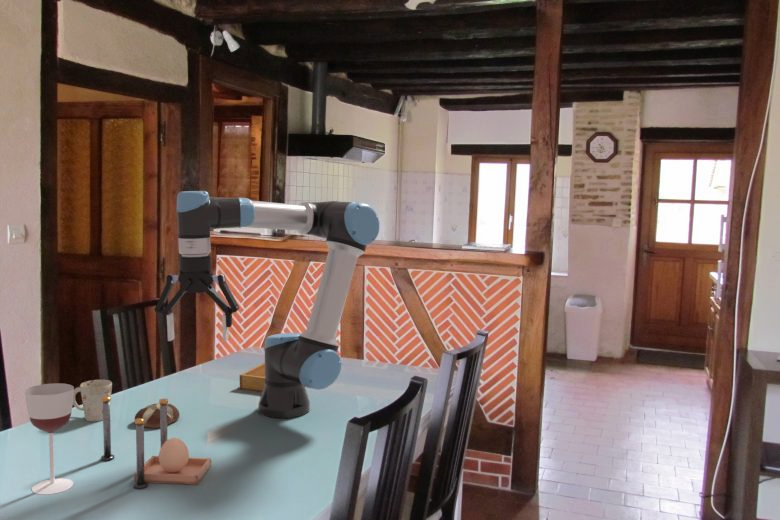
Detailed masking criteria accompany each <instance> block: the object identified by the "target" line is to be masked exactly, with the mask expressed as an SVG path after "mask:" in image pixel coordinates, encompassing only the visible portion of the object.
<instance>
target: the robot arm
mask: <svg viewBox="0 0 780 520" xmlns="http://www.w3.org/2000/svg"><path fill="white" fill-rule="evenodd" d="M175 210H176V217H177V218H176V219H177V233H178V238H177V239H178V241H177V242H178V253H179V254H180V256H179V258H178V264H179V265H178V267H179V275H178V274H175V273H170V274H168V275H167V276H166V281H165V286H164V288H163V290H162V292H161V294H160V296H159V299H158V301H157V303H156V305H155V308H154V312H156V313H160V314H161V315H162V322H163V327H164V328H167V329H166V330H167V342H172V341H173V340H175V321H174V319H175V317H174V312H171V311H172V309H174V307H175V306H176V305H177V304H178V303H179V301H180V300H181V299H182V298H183V297H184V295H185V294H186V293H189V294H194V293H196V294H197V293H198V294H202V293H205V294H206V295H207V296H209V297H210V298H211V300H212V301H213V302H214V303H215V304H216V305H217V306H218V307H219V308H220V310H221V311H222V312H223V314H222V315H221V320H222V321H221V323H222V324H221V325H222V342H227V341H228V339H230V337H229V328H231V327H232V325H233V314H234V313H236V312H238V311H239V310H240V306H239V304H238V302H237V300H236V298H235V297H234V295H233V293H232V291H231V289H230V287H229V285H228V284H227V281H226V274H224V273H221V274H215V275H213V273H212V256H211V255H210V253H212V249H211V248H212V246H211V230H216V229H217V230H218V229H235V228H236V229H237V228H239V229H241V228H252V229H265V230H266V229H268V230H270V229H271V230H281V231H283V230H284V231H297V233H298V234H300V235H307V236H314V237H318V238H322V239H325V244H326V246H327V248H328V252H327V257H326V259H325V263H324V267H323V270H322V274H321V276H320V280H319V284H318V288H317V291H316V295H315V299H314V301H313V305H312V309H311V312H310V316H309V318H308V319H309V320H308V322H307V326H306V330H305V331H303V332H284V333H277V334H276V333H275V334H271V335H268V336H267V337H266V338H265V341H264V348H263V350H264V362H265V386H264V389H263V392H261V395H260V398H259V401H258V413H259V414H260V415H262V416H265V417H269V418H277V419H280V418H281V419H285V418H286V419H288V418H296V417H301V416H303V415H305V414H308V412H309V411H310V410H311V404H310V403H311V401H310V399H309V395H308V393H307V390H306V388H309V389H311V390H312V389H313V390H317V391H318V390H319V391H320V390H324V389H326V388H328V387H330V386H331V385H333V384H334V383H335V382H336V380H337V379H338V377H339V376H340V374H341V371H342V360H341V357H340V355H339V354H338V350H339V348H340V347H339V346H340V344H339V343H338V340H337V339H336V338H337V334H338V330H339V326H340V323H341V319H342V317H343V314H344V313H343V312H344V309H345V305H346V301H347V297H348V295H349V291H350V287H351V283H352V280H353V276H354V272H355V269H356V265H357V263H358V262H357V261H358V259H359V257H360V256H362V255H364V254H365V252H366V248H367V245H370V244H372V243H373V242H374V241H376V239H377V237H378V235H379V232H380V220H379V216H378V215H377V212H376V211H375V209H374V208H373V207H372V206H370V205H369V204H367V203H363V202H359V201H358V202H357V201H353V202H352V201H339V200H330V201H329V200H328V201H318V202H316V201H315V202H313V201H311V202H310V201H301V202H300V203H299V204H295V203H292V204H291V203H285V202H284V203H283V202H282V203H281V202H273V201H272V202H271V201H261V200H260V201H259V200H251V199H249V198H247V197H240V196H239V197H221V196H220V197H218V196H210V194H209V192H207V191H206V190H191V191H190V190H188V191H187V190H186V191H179V192H178V194H177V195H176V209H175ZM214 281H215V283H216V284H217V285H218V286H219V288H220V291H221V292H222V294H223V296H224V298H225V299H226V301H225V300H224V299H223V298H222V297H221V295H220V294H219V293H218V292H217V291H216V289H215V288H214V286H213V285H212V283H213V282H214ZM177 282H179V284H180V285H181V287H180V288H179V290H178V291H177V292H176V293H175V295H174V296H173V297H172V299H171V300H170V301H169V302H168V303H167V305H166V302H167V300H168V298H169V295H170V294H171V292H172V290H173V287H174V285H175V284H176V283H177ZM165 305H166V306H165Z"/></svg>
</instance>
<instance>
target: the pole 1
mask: <svg viewBox="0 0 780 520" xmlns="http://www.w3.org/2000/svg"><path fill="white" fill-rule="evenodd" d="M111 401H112V400H111V397H110V396H104V397H102V402H103V420H102V425H103V430H102V431H103V455H102V456H101V457H100V460H101V462H110V461H114V459H115V455H114V454H112V438H111V437H112V436H111V435H112V433H111V431H112V430H111Z"/></svg>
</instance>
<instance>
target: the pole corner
mask: <svg viewBox="0 0 780 520" xmlns="http://www.w3.org/2000/svg"><path fill="white" fill-rule="evenodd" d="M158 403H159V404H160V428H159V429H160V448H161V447H162V446H163V444H164V443H165V442H166V441H167V440H168V425H167V404H169V399H168V398H160V399H159V400H158Z"/></svg>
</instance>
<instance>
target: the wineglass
mask: <svg viewBox="0 0 780 520" xmlns="http://www.w3.org/2000/svg"><path fill="white" fill-rule="evenodd" d="M74 389H75V387H74V386H73V385H71V384H67V383H60V382H59V383H56V382H55V383H45V384H44V383H43V384H39V385H34V386H31V387H28V388H26V389H25V390H24V391H25V392H24V393H25V404H26V410H27V414H28V415H27V416H28V417H29V421H30V423H31V424H32V426H33V427H35V428H36V429H38V430H41V431H43V432H46V433H48V447H49V449H48V450H49V477H50V478H49V479H46V480H42V481H39V482H37V483H36V484H34V485H33V486H32V488H31V491H32V493H34V494H38V495H45V496H46V495H54V494H58V493H62V492H64V491H67V490H69V489H70V488H71V487H72V486H73V485H74V481H73V480H72V479H69V478H61V477H58V478H55V450H54V447H55V445H54V432H56V431H57V430H60V429H61V428H63V427H64V426H66V425H67V423H68V422H69V421H70V419H71V416H72V411H73V406H74V405H73V396H74Z"/></svg>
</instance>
